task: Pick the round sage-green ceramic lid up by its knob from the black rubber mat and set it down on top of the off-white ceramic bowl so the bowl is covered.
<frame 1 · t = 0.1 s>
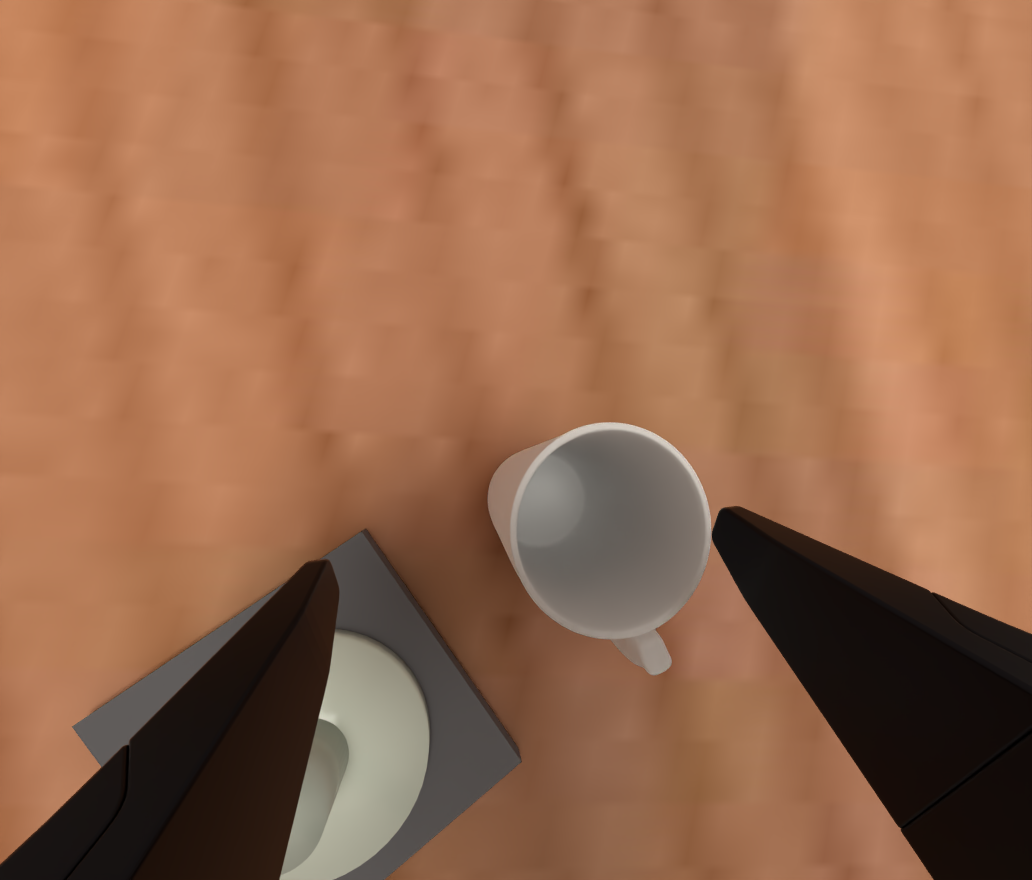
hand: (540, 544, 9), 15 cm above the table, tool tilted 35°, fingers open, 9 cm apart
mug: (545, 521, 24), on the table
lid: (314, 745, 20), point 1 cm above the table, touching mat
mat: (321, 732, 21), on the table
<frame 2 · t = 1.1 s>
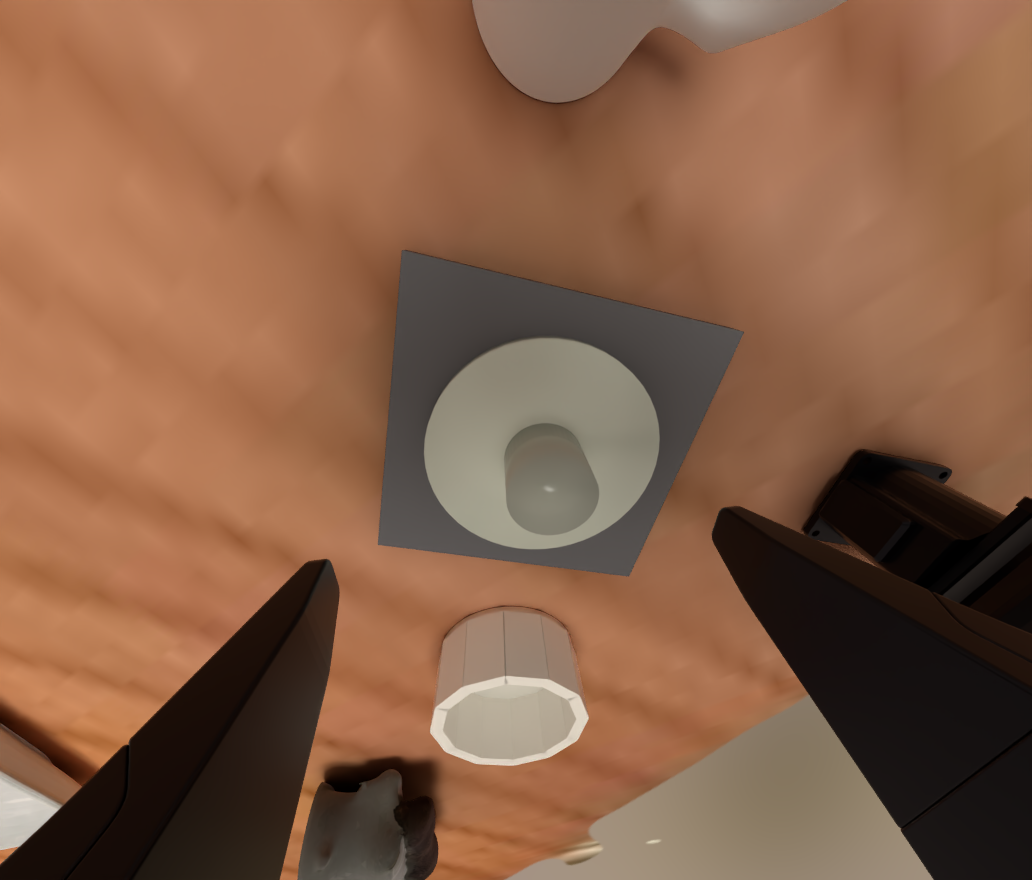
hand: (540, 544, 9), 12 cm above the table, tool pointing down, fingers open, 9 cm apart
bowl: (507, 652, 29), on the table
mug: (598, 21, 14), on the table
lid: (540, 449, 20), point 1 cm above the table, touching mat
rock: (387, 794, 38), on the table
mat: (538, 441, 21), on the table
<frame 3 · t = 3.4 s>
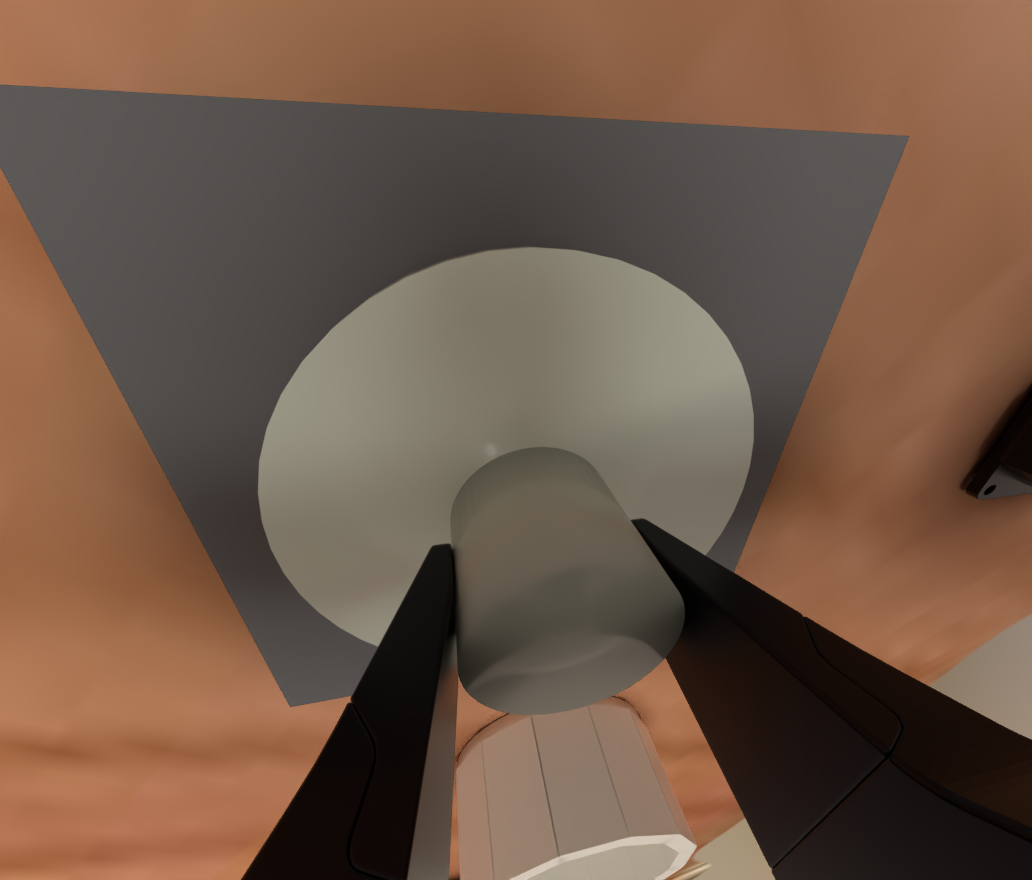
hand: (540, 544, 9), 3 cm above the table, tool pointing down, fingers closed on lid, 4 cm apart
bowl: (551, 748, 20), on the table
lid: (523, 492, 10), point 1 cm above the table, touching gripper, mat
mat: (515, 472, 11), on the table
when the fingers open (8 cm above the table, at t = 7.5 s): lid stays where it is, resting on bowl.
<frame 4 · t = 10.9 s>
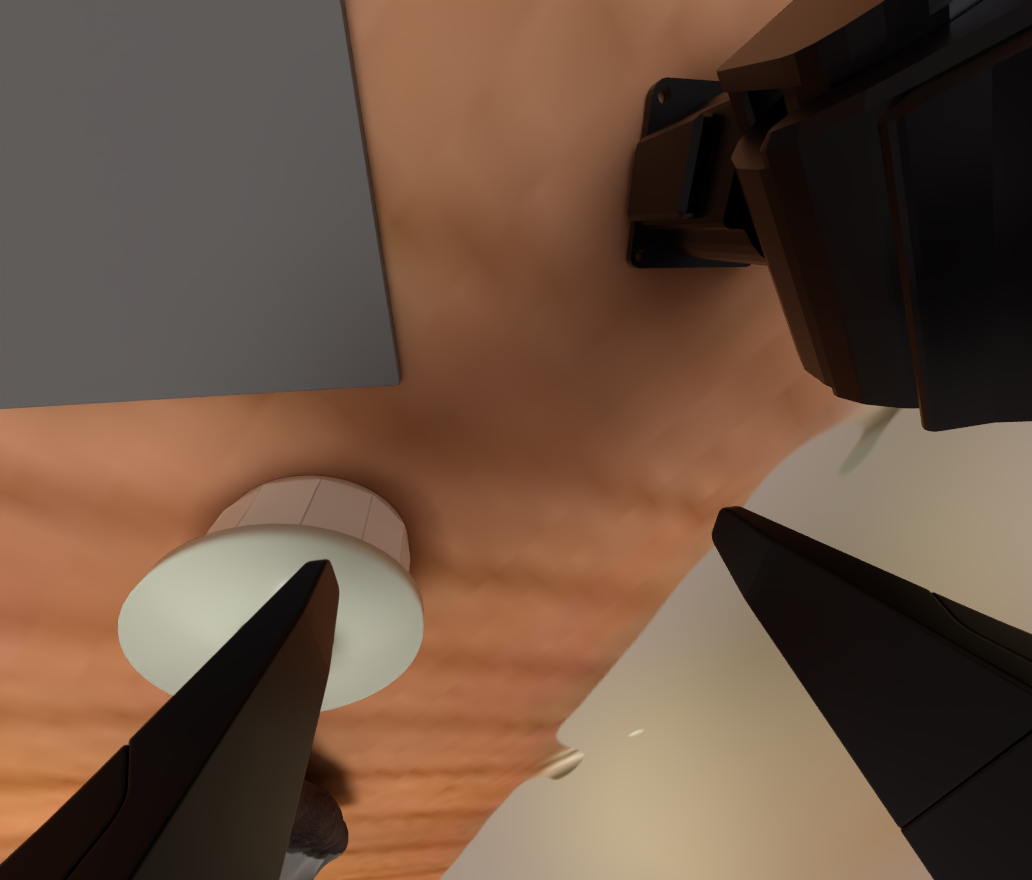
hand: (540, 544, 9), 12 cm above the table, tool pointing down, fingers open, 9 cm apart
bowl: (320, 546, 22), on the table
lid: (293, 622, 18), point 5 cm above the table, touching bowl
rock: (267, 767, 33), on the table
mat: (129, 170, 13), on the table
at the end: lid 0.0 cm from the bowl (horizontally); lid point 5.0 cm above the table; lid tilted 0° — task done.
